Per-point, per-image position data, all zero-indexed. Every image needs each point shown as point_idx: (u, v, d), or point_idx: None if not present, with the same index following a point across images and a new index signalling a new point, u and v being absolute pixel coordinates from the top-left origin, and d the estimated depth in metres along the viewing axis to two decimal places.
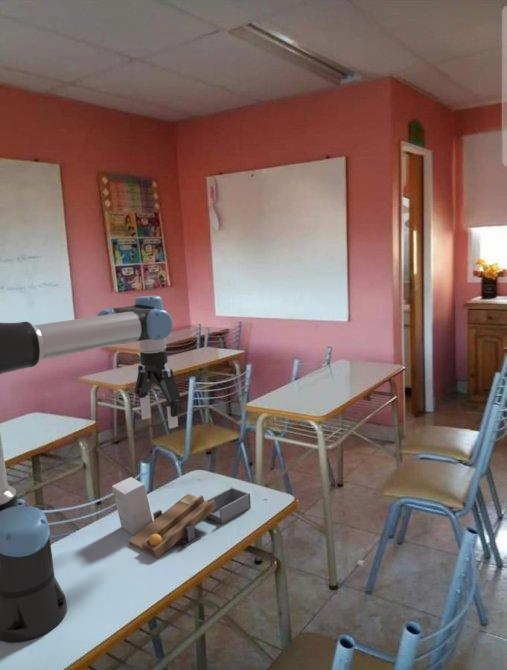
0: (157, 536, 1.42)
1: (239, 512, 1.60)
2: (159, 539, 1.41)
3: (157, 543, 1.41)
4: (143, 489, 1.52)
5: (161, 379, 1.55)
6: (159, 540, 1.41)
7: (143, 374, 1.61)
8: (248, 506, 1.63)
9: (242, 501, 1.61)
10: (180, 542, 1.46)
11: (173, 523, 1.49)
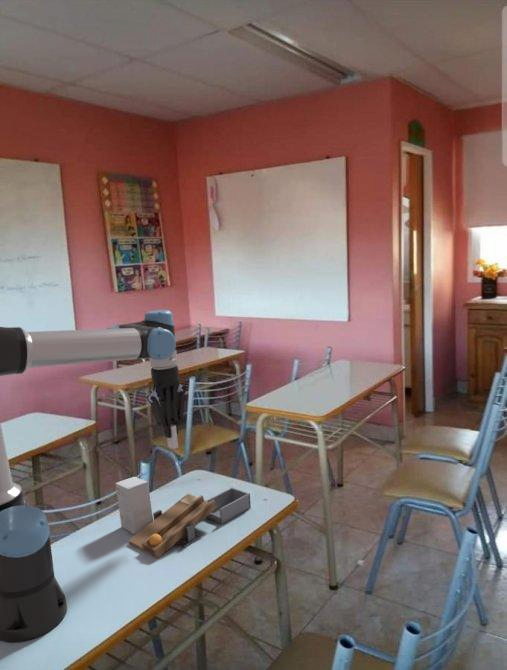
0: (157, 536, 1.42)
1: (239, 512, 1.60)
2: (159, 539, 1.41)
3: (157, 543, 1.41)
4: (146, 486, 1.53)
5: None
6: (159, 540, 1.41)
7: (178, 394, 1.57)
8: (248, 506, 1.63)
9: (242, 501, 1.61)
10: (180, 542, 1.46)
11: (173, 523, 1.49)
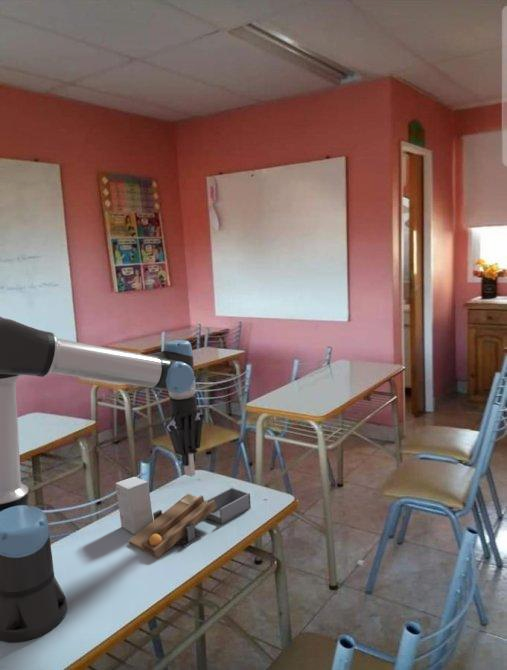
0: (157, 536, 1.42)
1: (239, 512, 1.60)
2: (159, 539, 1.41)
3: (157, 543, 1.41)
4: (146, 486, 1.53)
5: None
6: (159, 540, 1.41)
7: (196, 422, 1.59)
8: (248, 506, 1.63)
9: (242, 501, 1.61)
10: (180, 542, 1.46)
11: (173, 523, 1.49)
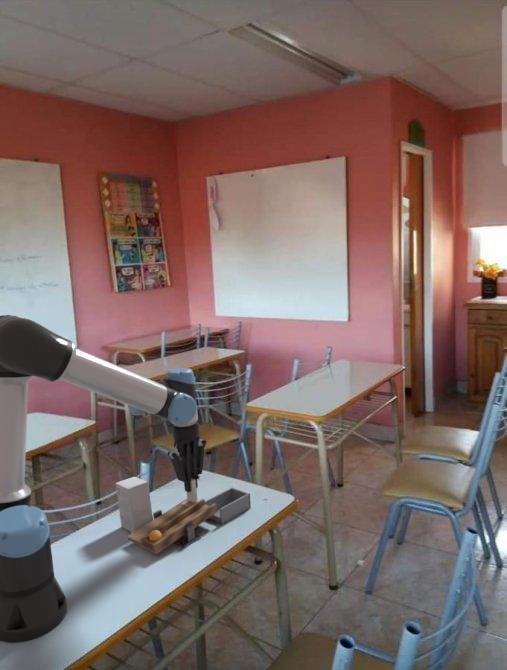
0: (157, 532, 1.42)
1: (239, 512, 1.60)
2: (159, 535, 1.41)
3: (157, 539, 1.41)
4: (146, 486, 1.53)
5: None
6: (159, 536, 1.41)
7: (198, 448, 1.60)
8: (248, 506, 1.63)
9: (242, 501, 1.61)
10: (180, 542, 1.46)
11: (173, 522, 1.49)
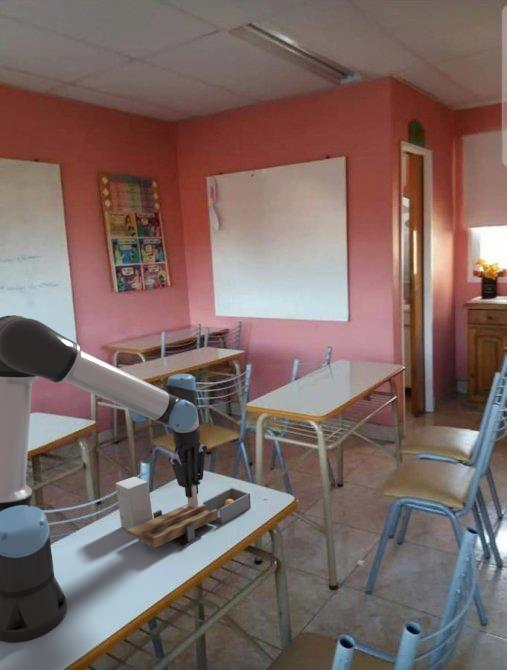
0: None
1: (239, 512, 1.60)
2: None
3: None
4: (146, 486, 1.53)
5: None
6: None
7: (198, 454, 1.61)
8: (248, 506, 1.63)
9: (242, 501, 1.61)
10: (180, 542, 1.46)
11: (174, 522, 1.49)
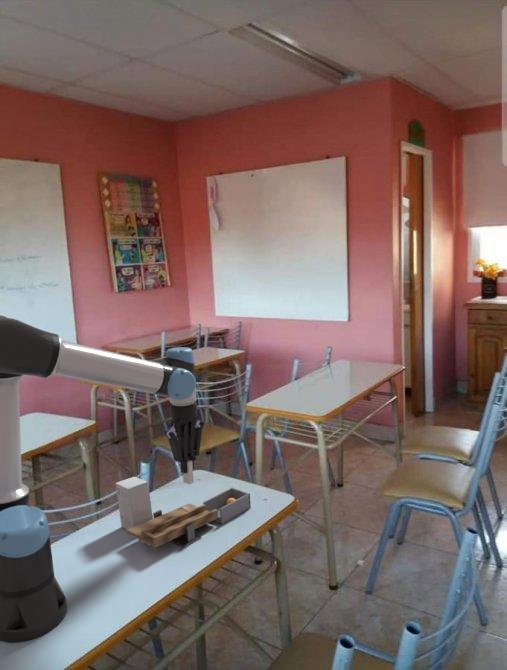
0: (231, 501, 1.62)
1: (239, 512, 1.60)
2: None
3: None
4: (146, 486, 1.53)
5: None
6: None
7: (195, 429, 1.59)
8: (248, 506, 1.63)
9: (242, 501, 1.61)
10: (180, 542, 1.46)
11: (174, 522, 1.49)
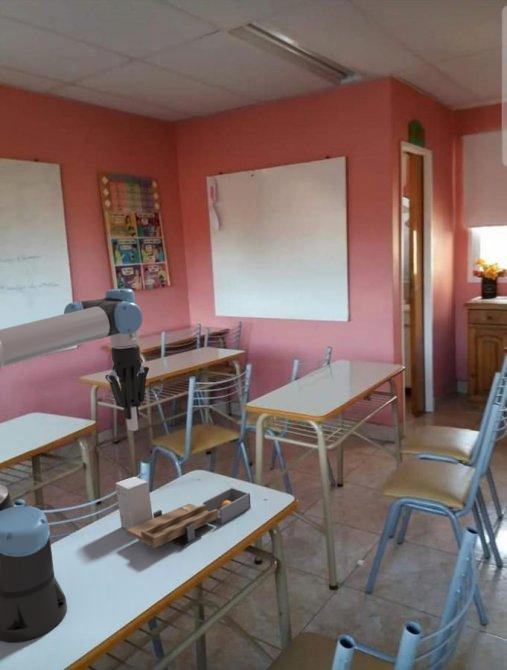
0: None
1: (239, 512, 1.60)
2: None
3: None
4: (146, 486, 1.53)
5: None
6: None
7: (140, 375, 1.54)
8: (248, 506, 1.63)
9: (242, 501, 1.61)
10: (180, 542, 1.46)
11: (174, 522, 1.49)
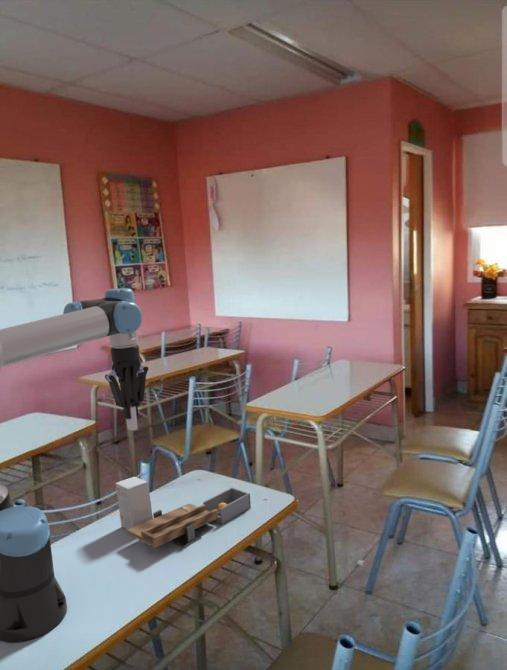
0: None
1: (239, 512, 1.60)
2: None
3: None
4: (146, 486, 1.53)
5: None
6: None
7: (139, 375, 1.54)
8: (248, 506, 1.63)
9: (242, 501, 1.61)
10: (180, 542, 1.46)
11: (174, 522, 1.49)
